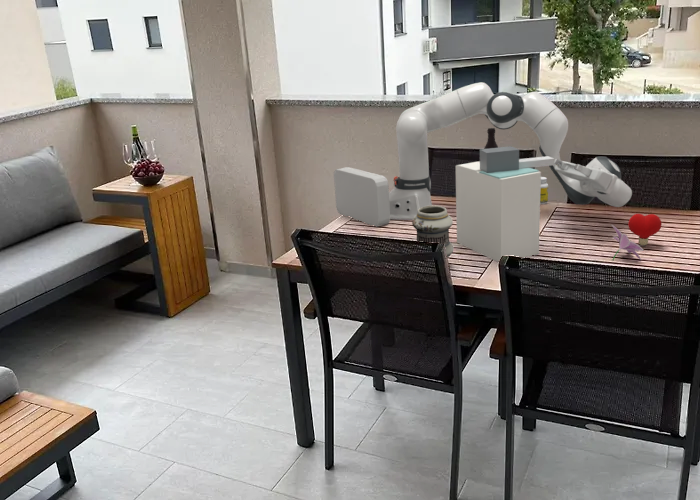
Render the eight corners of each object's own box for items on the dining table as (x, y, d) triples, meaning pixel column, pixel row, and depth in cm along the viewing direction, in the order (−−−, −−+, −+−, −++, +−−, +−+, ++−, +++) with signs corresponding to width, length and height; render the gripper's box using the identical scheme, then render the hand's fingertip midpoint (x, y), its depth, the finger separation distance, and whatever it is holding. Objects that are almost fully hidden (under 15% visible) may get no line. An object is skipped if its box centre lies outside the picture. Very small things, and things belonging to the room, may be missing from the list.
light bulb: (658, 242, 205) (661, 211, 202) (660, 250, 199) (663, 218, 195) (626, 241, 208) (628, 210, 205) (627, 248, 202) (629, 217, 198)
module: (546, 161, 204) (547, 142, 203) (555, 165, 199) (556, 145, 197) (479, 168, 202) (479, 149, 200) (486, 173, 196) (486, 152, 194)
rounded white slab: (395, 223, 243) (393, 175, 237) (378, 228, 239) (376, 179, 233) (352, 209, 266) (349, 164, 260) (336, 213, 262) (332, 168, 256)
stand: (492, 234, 223) (492, 158, 215) (538, 254, 203) (541, 170, 194) (456, 242, 218) (455, 164, 210) (500, 263, 197) (501, 178, 189)
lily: (641, 271, 187) (656, 240, 186) (601, 255, 188) (615, 224, 188) (630, 269, 199) (644, 240, 198) (593, 253, 200) (606, 224, 199)
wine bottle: (481, 204, 259) (481, 127, 249) (499, 203, 258) (500, 126, 248) (482, 209, 252) (482, 130, 242) (501, 208, 251) (501, 129, 241)
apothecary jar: (419, 276, 192) (417, 216, 186) (409, 262, 204) (406, 206, 198) (459, 271, 194) (458, 211, 188) (446, 257, 205) (445, 201, 199)
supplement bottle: (532, 204, 254) (532, 179, 251) (534, 200, 259) (534, 176, 256) (547, 204, 252) (547, 179, 249) (548, 201, 257) (549, 176, 254)
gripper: (576, 165, 224) (549, 149, 218) (621, 177, 207) (593, 160, 200) (567, 182, 225) (540, 167, 218) (612, 195, 207) (584, 179, 201)
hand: (566, 163), depth 209 cm, fingers open, 8 cm apart
